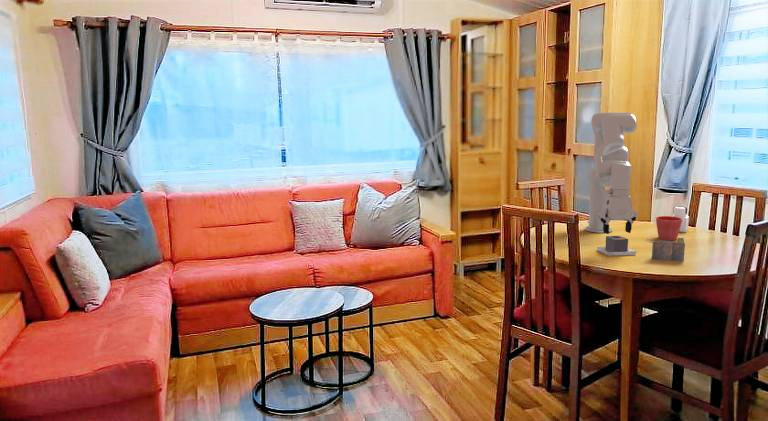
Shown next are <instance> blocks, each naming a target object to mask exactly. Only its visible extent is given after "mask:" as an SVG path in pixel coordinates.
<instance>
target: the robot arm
mask: <svg viewBox="0 0 768 421" xmlns="http://www.w3.org/2000/svg"><path fill="white" fill-rule="evenodd" d="M590 123H591V128H592V132H593V134H594V145H593V146H594V147H593V161H594V162H593V163H594V167H595V168H592V169H591V170H590V172H589V173H588V174H589V175H588V179H589V180H588V181H589V208H588V209H589V210H588V211H589V212H588V213H589V214H588V221H587V224H588V226H586V227H584V228H585V231H587V232H590V233H597V234H598V233H599V234H607V235H609V233H611V232H612V231H613V228H611V227H610V222H611V221H626V222H625V228H624V229H625V231H624V232H626V233H628V234H630V233H631V232H632V228H633V227H632V225H633V224H634V222H635V221H636V220H637V218H638V216H639V212H638V211H635V210H634V209H633V200H632V196H631V195H630V187H631V186H630V184H631V174H632V171H633V169H632V165H631V163H630V162H629V160H630V153H629V149H628V148H627V147H626V146H625V135H624V134H633V133H635V132H636V130H637V126H638V122H637V118H636V116H635V114H632V113H631V112H598V113H595V114H593V115H592V116H591V122H590ZM606 188H609V189H608V190H607V189H606Z"/></svg>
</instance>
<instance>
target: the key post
mask: <svg viewBox="0 0 768 421" xmlns="http://www.w3.org/2000/svg"><path fill="white" fill-rule="evenodd" d="M616 239H617V238H616ZM596 251H597V252H600V253H602V254H604V255H605V256H606V257H607V256H608V257H616V256H617V257H619V256H621V257H622V256H636V255H637V251H636V250H634V249H631V248H630V247H628V251H612V250H610V249H608V248H606V246H597V249H596Z"/></svg>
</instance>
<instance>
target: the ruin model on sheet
mask: <svg viewBox="0 0 768 421" xmlns="http://www.w3.org/2000/svg"><path fill="white" fill-rule="evenodd" d="M684 239H685V237H677V239H676V241H671V240H658V241H654V240H652V247H651V248H652V249H651V259H652V260H657V261H673V262H684V261H685V251H686V250H685V249H686V243H685V240H684Z"/></svg>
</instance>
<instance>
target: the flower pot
mask: <svg viewBox="0 0 768 421" xmlns="http://www.w3.org/2000/svg"><path fill="white" fill-rule="evenodd" d="M672 216H673V215H671V216H668V215H663V216H662V215H661V216H660V215H659V216H657V217H655V220H656V221H655V222H656V229H657V236H658V237H657V238H658V239H660V240H662V241H677V238H679V233H680V232H679V230H680V226H681V223H682V219H681V218H678V217H672Z"/></svg>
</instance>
